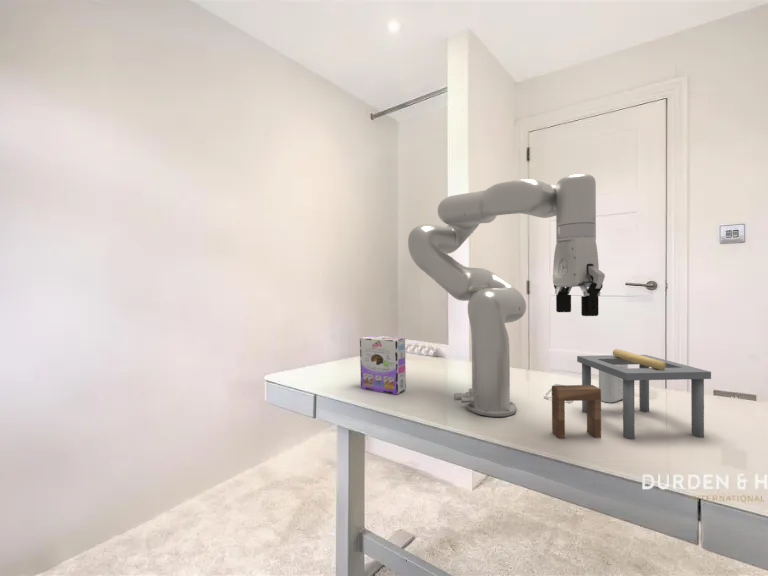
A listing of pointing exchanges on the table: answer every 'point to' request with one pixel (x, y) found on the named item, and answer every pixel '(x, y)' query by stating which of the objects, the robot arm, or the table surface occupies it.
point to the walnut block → (576, 394)
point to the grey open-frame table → (646, 383)
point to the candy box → (383, 364)
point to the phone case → (550, 391)
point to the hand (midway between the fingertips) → (575, 313)
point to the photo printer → (611, 386)
